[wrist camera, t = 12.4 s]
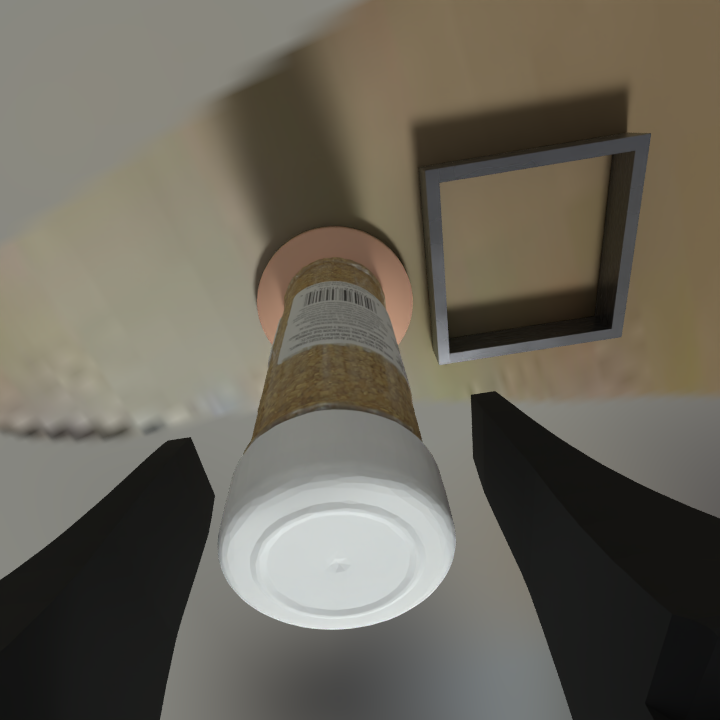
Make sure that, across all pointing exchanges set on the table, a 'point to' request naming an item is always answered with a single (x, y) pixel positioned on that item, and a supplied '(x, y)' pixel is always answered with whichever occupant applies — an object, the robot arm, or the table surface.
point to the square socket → (614, 259)
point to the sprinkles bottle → (335, 468)
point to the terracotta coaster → (331, 245)
